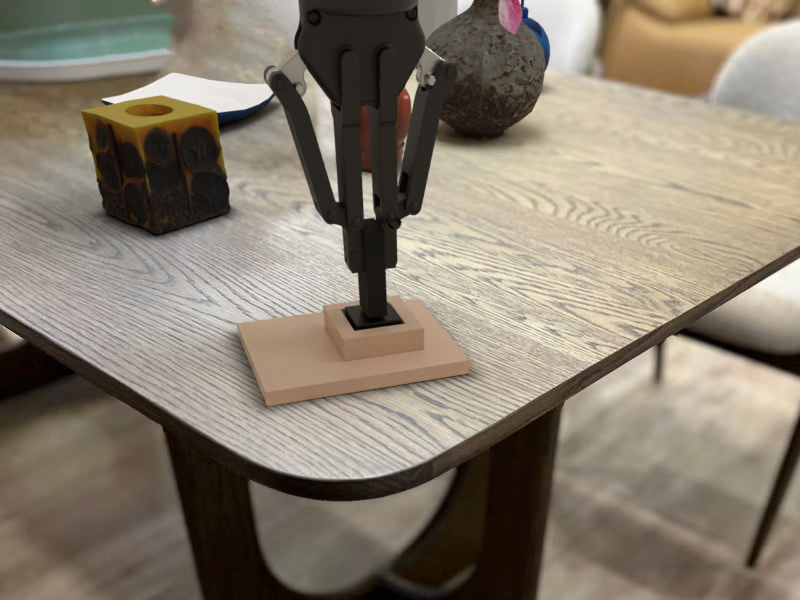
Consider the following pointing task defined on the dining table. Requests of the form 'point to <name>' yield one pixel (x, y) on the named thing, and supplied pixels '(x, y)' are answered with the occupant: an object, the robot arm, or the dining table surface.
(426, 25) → the jar
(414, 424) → the dining table surface
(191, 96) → the plate
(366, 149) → the mug
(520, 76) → the vase
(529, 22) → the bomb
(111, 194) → the candle
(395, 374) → the tan stepped platform
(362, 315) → the key
